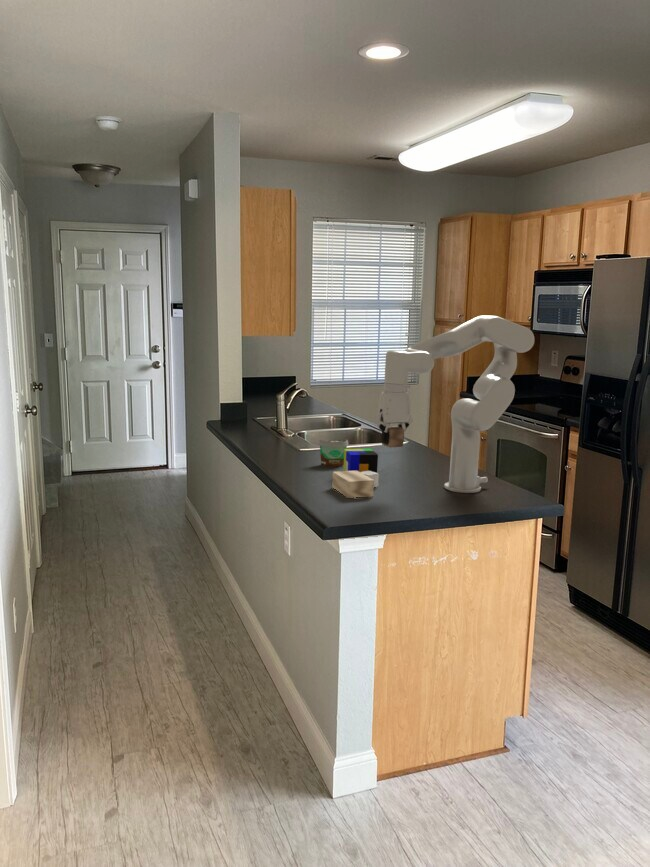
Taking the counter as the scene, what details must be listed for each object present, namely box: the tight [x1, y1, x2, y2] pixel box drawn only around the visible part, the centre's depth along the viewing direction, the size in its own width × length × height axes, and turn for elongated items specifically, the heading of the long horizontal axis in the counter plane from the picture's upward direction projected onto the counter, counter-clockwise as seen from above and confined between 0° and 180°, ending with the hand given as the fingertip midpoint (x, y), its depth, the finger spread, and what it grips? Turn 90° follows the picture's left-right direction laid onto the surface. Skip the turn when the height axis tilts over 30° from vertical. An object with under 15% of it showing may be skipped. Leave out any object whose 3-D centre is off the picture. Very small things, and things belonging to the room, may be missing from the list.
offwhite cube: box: [361, 471, 380, 488], centre depth 248 cm, size 5×5×5 cm
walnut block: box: [381, 425, 405, 448], centre depth 236 cm, size 5×5×6 cm
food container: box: [318, 438, 349, 468], centre depth 277 cm, size 12×6×10 cm, turn 112°
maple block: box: [331, 470, 375, 499], centre depth 239 cm, size 9×14×6 cm, turn 21°
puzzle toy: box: [342, 448, 379, 473], centre depth 258 cm, size 10×10×10 cm
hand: (392, 442), depth 237 cm, fingers closed on walnut block, 5 cm apart
